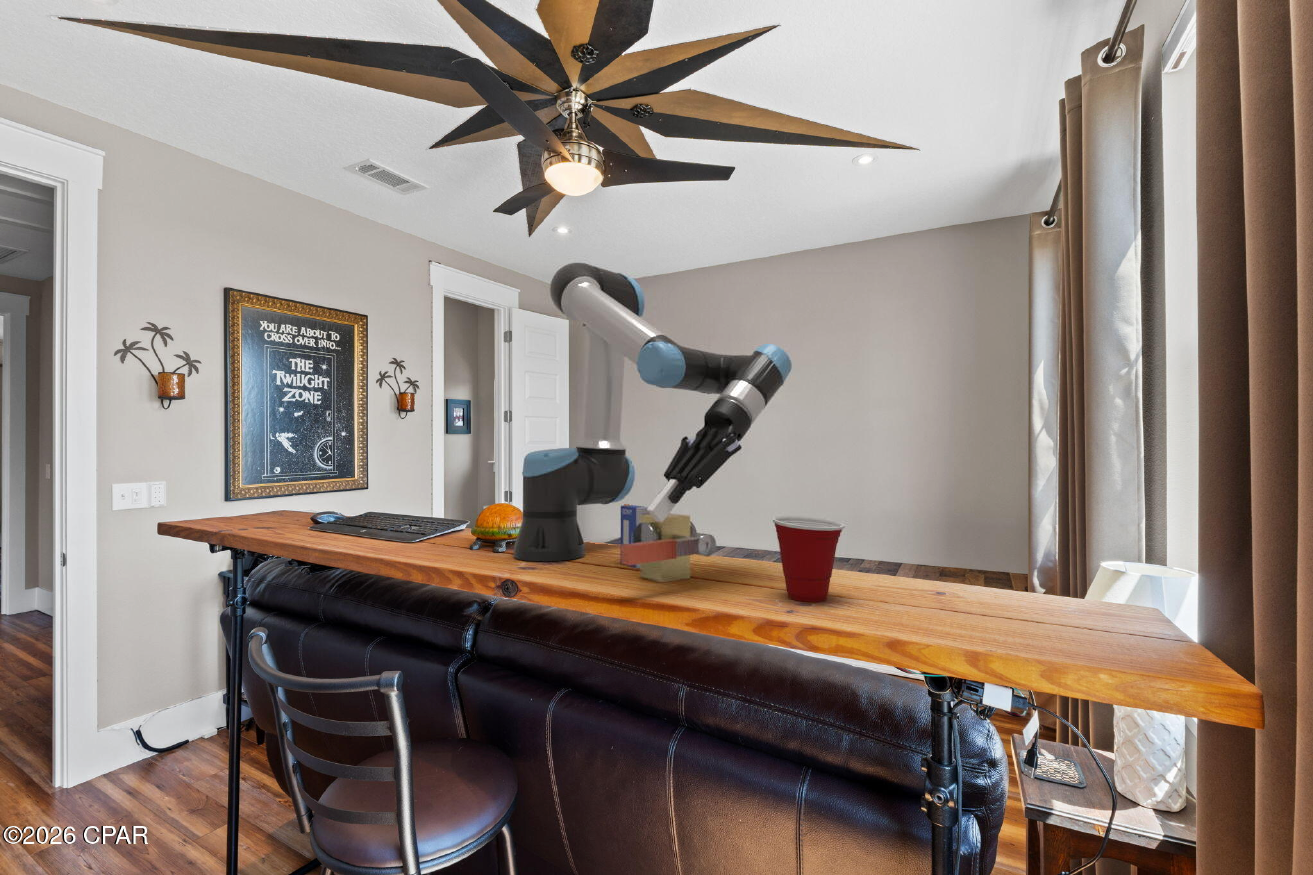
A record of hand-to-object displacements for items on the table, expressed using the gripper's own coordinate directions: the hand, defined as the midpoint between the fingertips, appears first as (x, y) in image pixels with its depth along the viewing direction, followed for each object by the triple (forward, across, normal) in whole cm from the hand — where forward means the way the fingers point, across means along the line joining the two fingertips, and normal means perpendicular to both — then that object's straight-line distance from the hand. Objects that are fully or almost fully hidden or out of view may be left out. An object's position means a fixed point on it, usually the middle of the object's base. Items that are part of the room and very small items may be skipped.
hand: (654, 515), depth 89 cm
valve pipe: (+2, +8, -16) cm, 18 cm away
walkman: (0, +23, -18) cm, 29 cm away
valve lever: (-5, 0, -12) cm, 13 cm away
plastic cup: (-4, -15, -22) cm, 27 cm away
